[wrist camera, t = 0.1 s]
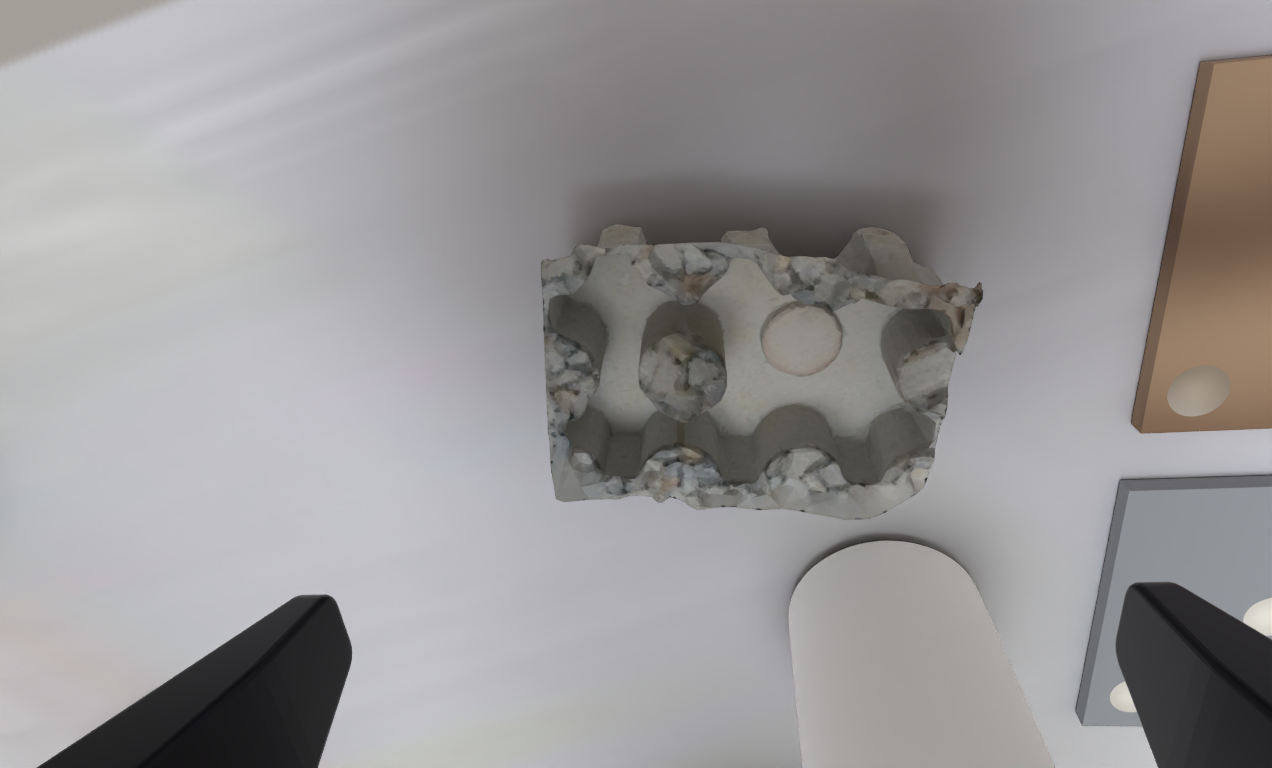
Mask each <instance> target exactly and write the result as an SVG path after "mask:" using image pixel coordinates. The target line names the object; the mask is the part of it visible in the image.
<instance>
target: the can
mask: <svg viewBox="0 0 1272 768" xmlns="http://www.w3.org/2000/svg"><path fill="white" fill-rule="evenodd" d="M789 635H790V646H791V657H792V668H793V678H794V688H795V698H796V708H797V718H798V728H799V738H800V747H801V757H802V767H803V768H1055V766H1054V764H1053V761H1052V759H1051V757H1050V754H1049V752H1048V750H1047V747H1046V745H1045V743H1044V740H1043V738H1042V736H1041V733H1040V731H1039V729H1038V726H1037V724H1036V722H1035V719H1034V717H1033V715H1032V712H1031V710H1030V708H1029V705H1028V703H1027V701H1026V699H1025V696H1024V694H1023V692H1022V689H1021V687H1020V685H1019V682H1018V680H1017V678H1016V675H1015V673H1014V671H1013V668H1012V666H1011V664H1010V662H1009V659H1008V657H1007V655H1006V652H1005V650H1004V648H1003V645H1002V643H1001V641H1000V639H999V636H998V634H997V632H996V629H995V627H994V625H993V622H992V620H991V618H990V616H989V613H988V611H987V609H986V607H985V604H984V602H983V600H982V598H981V596H980V594H979V591H978V589H977V587H976V586H975V584H974V582H973V580H972V579H971V577H970V576H969V575H968V573H967V572H966V571H965V570H964V569H963V568H962V567H961V566H960V565H959V564H958V563H956V562H955V561H954V560H953V559H951V558H950V557H948V556H946V555H945V554H943V553H941V552H939V551H937V550H934V549H932V548H929V547H926V546H923V545H919V544H915V543H909V542H902V541H889V540H884V541H871V542H865V543H860V544H856V545H853V546H850V547H847V548H844V549H842V550H840V551H838V552H836V553H834V554H832V555H830V556H828V557H826V558H825V559H823V560H822V561H820V562H819V563H817V564H816V565H815V566H814V567H813V568H811V569H810V570H809V571H808V572H807V573H806V574H805V576H804V577H803V578H802V579H801V581H800V582H799V584H798V585H797V587H796V589H795V591H794V593H793V595H792V598H791V601H790V606H789Z"/></svg>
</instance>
